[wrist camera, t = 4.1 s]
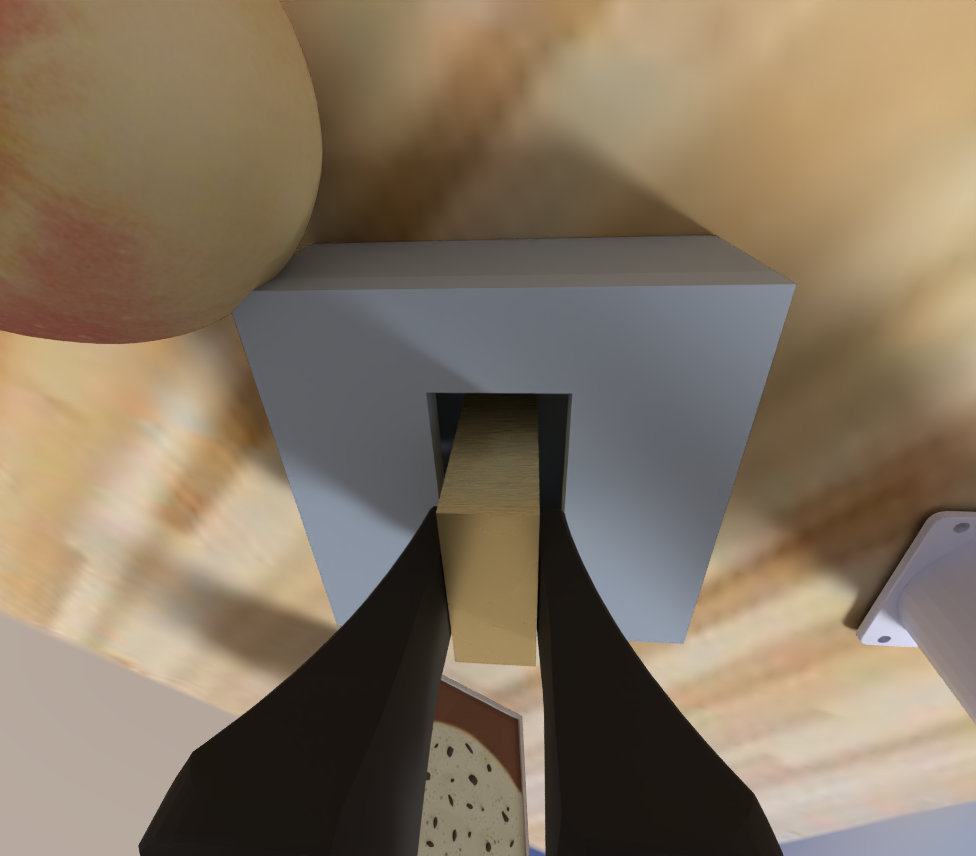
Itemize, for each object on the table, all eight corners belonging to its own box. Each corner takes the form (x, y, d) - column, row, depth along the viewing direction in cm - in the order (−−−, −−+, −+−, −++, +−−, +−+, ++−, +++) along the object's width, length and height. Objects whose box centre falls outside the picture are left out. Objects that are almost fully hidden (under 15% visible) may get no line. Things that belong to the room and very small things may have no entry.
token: (537, 391, 13) (539, 515, 9) (534, 523, 16) (535, 666, 12) (466, 391, 13) (435, 512, 9) (475, 521, 16) (455, 662, 12)
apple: (78, 237, 15) (-293, 331, 8) (-18, -190, 10) (-1116, -811, 3) (351, 309, 15) (212, 452, 9) (383, -61, 11) (133, -369, 4)
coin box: (715, 234, 14) (796, 284, 9) (652, 535, 20) (683, 643, 16) (313, 243, 15) (224, 291, 10) (376, 526, 21) (337, 625, 17)
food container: (321, 680, 29) (234, 910, 20) (374, 639, 26) (298, 885, 17) (478, 755, 32) (458, 976, 24) (539, 725, 30) (542, 964, 21)
